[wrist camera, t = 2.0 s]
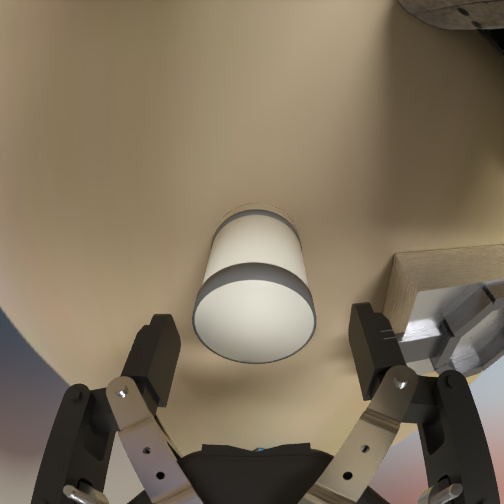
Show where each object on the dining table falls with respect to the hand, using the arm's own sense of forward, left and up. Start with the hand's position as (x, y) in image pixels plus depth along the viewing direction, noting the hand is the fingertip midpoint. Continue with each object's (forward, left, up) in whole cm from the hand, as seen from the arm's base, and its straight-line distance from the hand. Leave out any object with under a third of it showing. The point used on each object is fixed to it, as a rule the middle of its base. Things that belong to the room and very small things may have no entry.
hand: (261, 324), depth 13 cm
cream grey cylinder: (0, 0, -7) cm, 7 cm away
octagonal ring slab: (+6, +16, -7) cm, 18 cm away
